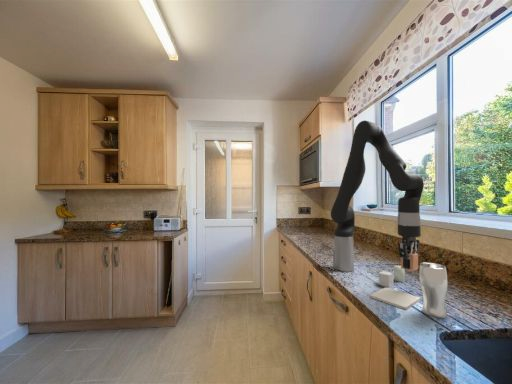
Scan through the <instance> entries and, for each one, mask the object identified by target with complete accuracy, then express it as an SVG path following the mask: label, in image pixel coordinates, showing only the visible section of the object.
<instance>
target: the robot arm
mask: <svg viewBox="0 0 512 384" xmlns="http://www.w3.org/2000/svg"><path fill="white" fill-rule="evenodd" d="M353 132H354V133H353V136H352V140H351V141H352V142H351V147H350V151H349V155H348V159H347V162H346V166H345V168H344V173H343V176H342V180H341V183H340V186H339V190H338V192H337V196H336V198H335V201H334V203H333V206H332V207H331V210H330V218H331V220H332V221H333V222H334V223H336V224H337V225H336V228H335V229H334V230H333V238H334V239H333V241H334V249H332V264H333V268H334V269H335V270H337V271H339V270H340V272H344V273H345V272H347V273H349V272H353V271H355V257H354V256H355V255H354V254H355V253H354V252H355V251H354V232H355V218H356V217H355V211H354V209H353V207H352V206H351V205H350V203H351V201H352V199H353V197H354V195H355V194H356V193H357V191H358V189H359V188H360V187H361V184H362V183H363V181H364V177H365V174H366V162H365V160H366V159H365V148H366V145H367V144H368V143H369V144H370V145H371V146H373V147H374V148H375V149H376V151H377V153H378V154H377V155H378V159H379V162H380V163H381V165H382V166H383V167H384V168H385V170H386V171H387V173H388V176H389V178H390V181H391V183H392V186H393V187H394V188H395V189H396V190H398V191H401V192H404V194H403V196H402V197H400V198H399V199H398V200H397V217H396V218H397V236H400V237H401V240H400V241H401V242H398V243H397V248H398V254H399V255H398V256H399V258H400V259H401V258H403V268H405V270H406V269H410V254H412V253H417V254H418V255H419V251H420V250H419V249H420V240H419V239H417V238H421V235H422V233H421V231H422V229H421V228H422V227H421V215H420V214H421V213H420V211H421V210H420V201H421V198H422V195H423V190H424V185H425V184H424V179H423V177H422V176H421V175H420V174H419V173H411V172H410V173H407V171H406V169H407V164H406V161H404V159H403V158H402V156H400V155H399V153H397V151H396V150H395V149H394V147H393V146H392V145H391V143H390V141H389V140H388V138H387V136H386V134H385V132H384V130H383V128H382V127H381V125H379V124H378V123H375V122H372V121H369V120H362V121H359V123H358V124H357V125H356V127H355V129H354V131H353Z"/></svg>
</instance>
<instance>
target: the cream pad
mask: <svg viewBox="0 0 512 384" xmlns="http://www.w3.org/2000/svg"><path fill="white" fill-rule="evenodd" d="M369 297H370V298H371V299H375V300H377V301H379V302H383V303H385V304H388V305H391V306H393V307H397V308H399V309H403V310H406V311H407V310H409V309H410V308H411V307H413V306H414V305H416V304H417V303H418V302H420V301H421V300H422V299H421V296H416V295H413V294H409V293H406V292H403V291H400V290H396V289H393V288H391V287H386V286H384V287H383V288H381V289H379V290H377V291H375V292H373V293H371V294H370V295H369Z"/></svg>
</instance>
